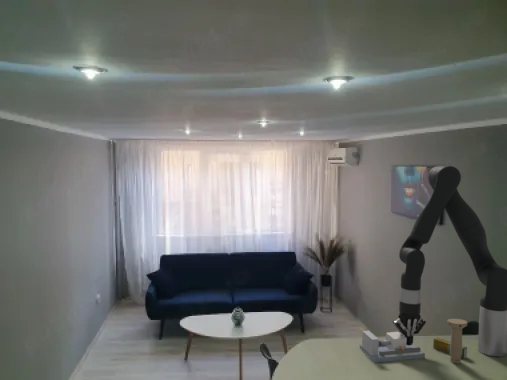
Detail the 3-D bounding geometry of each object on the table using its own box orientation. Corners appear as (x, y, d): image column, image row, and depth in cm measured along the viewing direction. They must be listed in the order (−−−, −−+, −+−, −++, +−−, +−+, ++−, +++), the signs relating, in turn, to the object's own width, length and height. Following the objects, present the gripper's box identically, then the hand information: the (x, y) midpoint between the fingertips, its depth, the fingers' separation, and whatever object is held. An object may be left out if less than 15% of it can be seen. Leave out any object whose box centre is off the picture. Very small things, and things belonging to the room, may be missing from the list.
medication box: (467, 357, 162) (467, 347, 161) (463, 359, 160) (464, 348, 160) (436, 346, 171) (436, 336, 171) (432, 348, 169) (433, 338, 169)
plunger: (397, 344, 168) (398, 331, 168) (409, 353, 160) (409, 340, 160) (378, 345, 166) (378, 333, 166) (389, 355, 158) (389, 342, 158)
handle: (467, 365, 155) (469, 323, 154) (449, 365, 155) (451, 323, 154) (461, 359, 160) (463, 318, 159) (443, 358, 160) (445, 318, 159)
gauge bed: (407, 344, 172) (407, 325, 172) (424, 357, 161) (425, 337, 160) (359, 347, 168) (360, 328, 168) (374, 362, 157) (374, 341, 156)
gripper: (420, 295, 169) (418, 339, 171) (388, 297, 167) (387, 341, 168) (432, 302, 162) (430, 347, 163) (399, 304, 159) (397, 350, 161)
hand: (408, 344), depth 166 cm, fingers closed
